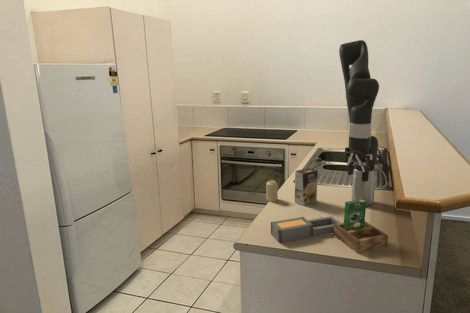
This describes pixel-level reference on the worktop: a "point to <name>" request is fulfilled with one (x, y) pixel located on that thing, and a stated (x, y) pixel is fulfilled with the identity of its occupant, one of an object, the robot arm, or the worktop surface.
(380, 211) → the worktop surface
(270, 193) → the candle
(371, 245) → the walnut rack
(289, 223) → the key
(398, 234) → the worktop surface
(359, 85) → the robot arm
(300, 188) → the coffee box
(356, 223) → the coffee box
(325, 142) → the worktop surface
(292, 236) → the stand
